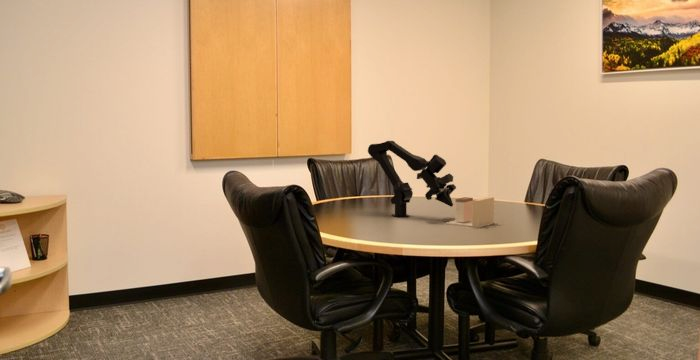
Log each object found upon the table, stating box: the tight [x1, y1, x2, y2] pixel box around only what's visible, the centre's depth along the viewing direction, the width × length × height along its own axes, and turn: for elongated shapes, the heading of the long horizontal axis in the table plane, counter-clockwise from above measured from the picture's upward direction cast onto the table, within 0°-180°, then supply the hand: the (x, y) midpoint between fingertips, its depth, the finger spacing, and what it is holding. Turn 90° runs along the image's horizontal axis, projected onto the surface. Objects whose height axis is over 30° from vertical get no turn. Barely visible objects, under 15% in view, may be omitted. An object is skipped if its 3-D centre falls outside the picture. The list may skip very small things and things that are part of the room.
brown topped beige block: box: [455, 196, 474, 222], centre depth 280 cm, size 4×8×10 cm, turn 141°
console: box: [445, 196, 495, 229], centre depth 278 cm, size 16×14×12 cm
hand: (452, 205), depth 283 cm, fingers closed
